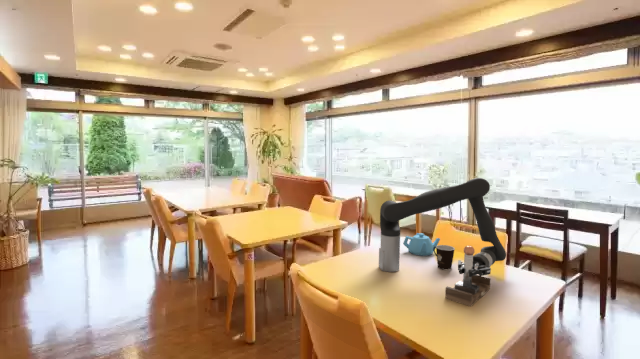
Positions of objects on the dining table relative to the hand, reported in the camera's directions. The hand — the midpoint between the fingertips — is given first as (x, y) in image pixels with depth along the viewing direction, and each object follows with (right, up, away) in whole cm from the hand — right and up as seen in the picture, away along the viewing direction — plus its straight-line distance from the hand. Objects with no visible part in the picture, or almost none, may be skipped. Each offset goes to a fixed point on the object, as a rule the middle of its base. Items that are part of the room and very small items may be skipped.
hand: (465, 273), depth 141 cm
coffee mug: (+4, -6, +36) cm, 36 cm away
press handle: (+2, -8, +3) cm, 8 cm away
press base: (+3, -10, +5) cm, 11 cm away
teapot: (-1, -4, +57) cm, 57 cm away
